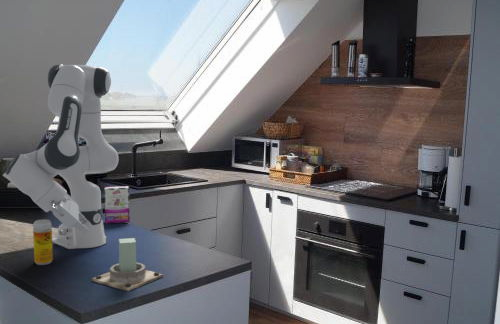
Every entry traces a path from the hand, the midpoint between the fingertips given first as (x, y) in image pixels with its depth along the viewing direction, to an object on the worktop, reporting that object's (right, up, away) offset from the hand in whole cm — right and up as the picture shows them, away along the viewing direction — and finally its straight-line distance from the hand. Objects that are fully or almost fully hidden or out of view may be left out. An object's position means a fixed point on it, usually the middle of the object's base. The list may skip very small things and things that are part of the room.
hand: (86, 227), depth 171 cm
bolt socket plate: (+12, -17, +6) cm, 22 cm away
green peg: (+12, -17, +6) cm, 21 cm away
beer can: (-21, -15, +21) cm, 33 cm away
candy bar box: (-10, -7, +80) cm, 81 cm away
